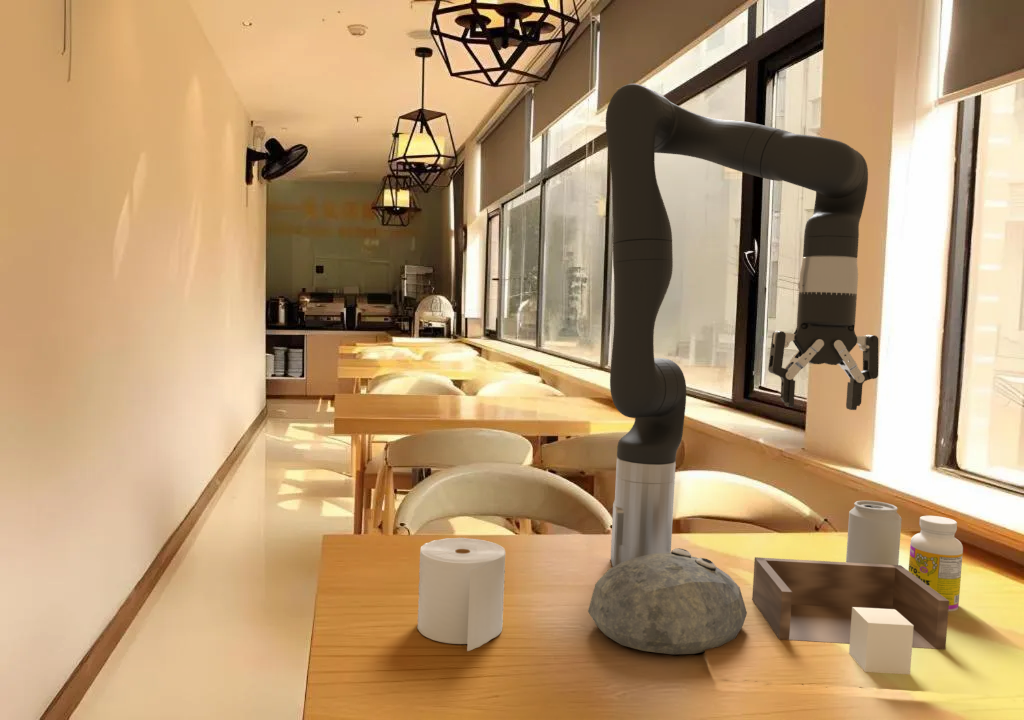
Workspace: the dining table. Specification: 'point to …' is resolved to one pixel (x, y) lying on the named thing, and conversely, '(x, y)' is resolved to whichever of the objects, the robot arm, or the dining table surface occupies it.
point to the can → (873, 533)
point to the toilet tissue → (461, 591)
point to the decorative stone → (668, 604)
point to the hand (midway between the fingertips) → (820, 407)
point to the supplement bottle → (938, 557)
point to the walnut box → (843, 599)
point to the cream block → (881, 640)
